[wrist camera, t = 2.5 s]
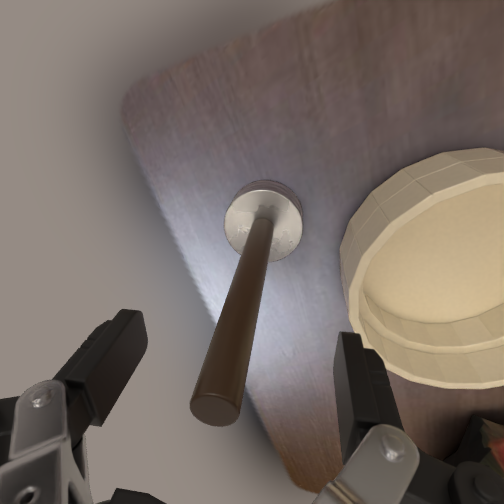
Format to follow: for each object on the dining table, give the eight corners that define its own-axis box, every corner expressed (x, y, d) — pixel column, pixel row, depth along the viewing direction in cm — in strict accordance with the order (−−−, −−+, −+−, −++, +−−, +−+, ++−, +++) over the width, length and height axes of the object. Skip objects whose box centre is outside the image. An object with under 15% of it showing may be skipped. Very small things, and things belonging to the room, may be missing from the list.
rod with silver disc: (215, 213, 24) (95, 396, 10) (267, 163, 22) (205, 311, 8) (264, 260, 26) (219, 479, 12) (318, 218, 23) (344, 429, 9)
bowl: (299, 242, 25) (298, 285, 19) (498, 91, 18) (577, 94, 13) (408, 355, 28) (432, 416, 23) (604, 262, 22) (698, 318, 17)
